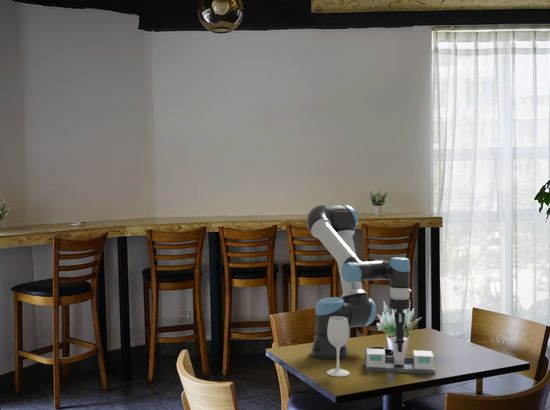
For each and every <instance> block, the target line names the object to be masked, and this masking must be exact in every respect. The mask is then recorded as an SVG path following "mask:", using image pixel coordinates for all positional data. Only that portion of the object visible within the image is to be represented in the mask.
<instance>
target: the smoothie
mask: <svg viewBox="0 0 550 410" xmlns="http://www.w3.org/2000/svg"><path fill="white" fill-rule="evenodd" d="M390 339H391V340H390V341H391V343H392V344H391V345H392V356H394V363H395V364H404V361H405V357H406V354H407V345H408V344H407V343H408V342H409V339H408V337H405V336H404V337H403V340H404V343H403V360H396V343H395V341H396V340H397V337H395V336H392V337H391V338H390ZM399 340H401V339H399Z"/></svg>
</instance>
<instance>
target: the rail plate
mask: <svg viewBox="0 0 550 410" xmlns="http://www.w3.org/2000/svg"><path fill="white" fill-rule="evenodd" d="M364 357H365V362H364V363H365V364H364V371H365V372H378V373H382V372H384V373H399V374H401V373H402V374H403V373H404V374H422V375H424V374H425V375H426V374H427V375H435V374H436V369H435V367H434V370H429V369H414V364H413V356H405V361H404V364H395V363H394V355H385V368H384V367H366V354H365V355H364Z"/></svg>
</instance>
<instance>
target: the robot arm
mask: <svg viewBox="0 0 550 410" xmlns="http://www.w3.org/2000/svg"><path fill="white" fill-rule="evenodd" d="M358 223H359V218H358V214H357V212H356V210H355V209H354V208H353V207H352V206H350V205H347V204H346V205H345V204H326V205H325V204H320V205H316V206H315V207H312V209H311V210H310V211H309V212H308V215H307V216H306V226H307V229H308V231H309V233H310V234H311V235H312V237H314V238H317V239H318V240H319V241H320V242H321V244H322V245H323V246H324V247H325V248H326V250H327V251H328V252H329V254H330V255H331V256H332V257H333V258H334V259H335V261H336V262H337V267H338V273H339V277H340V284H341V288H342V289H341V290H342V295H341V296H340V297H339V296H333V297H331V296H329V297H325V298H321V299H319V300H317V302H316V304H315V310H314V311H315V336H314V340H313V343H312V346H311V356H312V357H315V358H316V359H321V360H337V350H336V347H334V346H333V345H332V344H331V343H330V342H329V340H328V336H327V328H328V322H329V318H330V317H333V316H342V317H346V318H347V320H348V325H349V329H350V328H357V327H360V328H362V327H366V326H369V325H371V324H372V323H373V322H374V321H375V318H376V315H377V306H376V303H375V301H374V300H373V299H372V298H370V297H369V296H368V292H366V290H364V289H363V283H362V282H367V281H379V280H380V281H381V280H385V281H389V297H390V298H389V307H390V309H392V310H395V311H394V312H393V313H394V314H393V315H394V324H395V336H394V337H397V340H396V341H395V343H396V360H403V343H404V340H403V337H405V336H404V328H405V327H404V326H405V318H406V313H405V312H404V310H409V309H410V306H411V303H410V301H411V299H410V293H412V289H410V288H411V287H410V285H411V265H410V264H411V262H410V259H409V258H407V257H401V256H400V257H398V256H396V257H391V258H390V260H386V259H374V260H370V261H363V260H361V259H360V258H359V257H358V255H357V254H356V249H355V242H354V239H353V236H354V234H355V233H356V231H355V230H356V229H357V227H358ZM399 339H401V340H399ZM348 353H349V349H348V347H347V343H346V344H345V345H344V346H342V347H341V348H340V352H339V360H340V359H343V358H346V357H348V355H349V354H348Z"/></svg>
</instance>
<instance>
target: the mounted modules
mask: <svg viewBox="0 0 550 410" xmlns="http://www.w3.org/2000/svg"><path fill="white" fill-rule="evenodd" d="M365 355H366V367H384V368H385V356H386V350H385V348H368V347H367V348H366V354H365ZM412 355H413V356H412V357H413V364H414V369H429V370H434V368H435V366H434V364H435V363H434V361H435V360H434V359H435V358H434V353H433V351H432V350H415V349H413V354H412Z"/></svg>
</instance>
